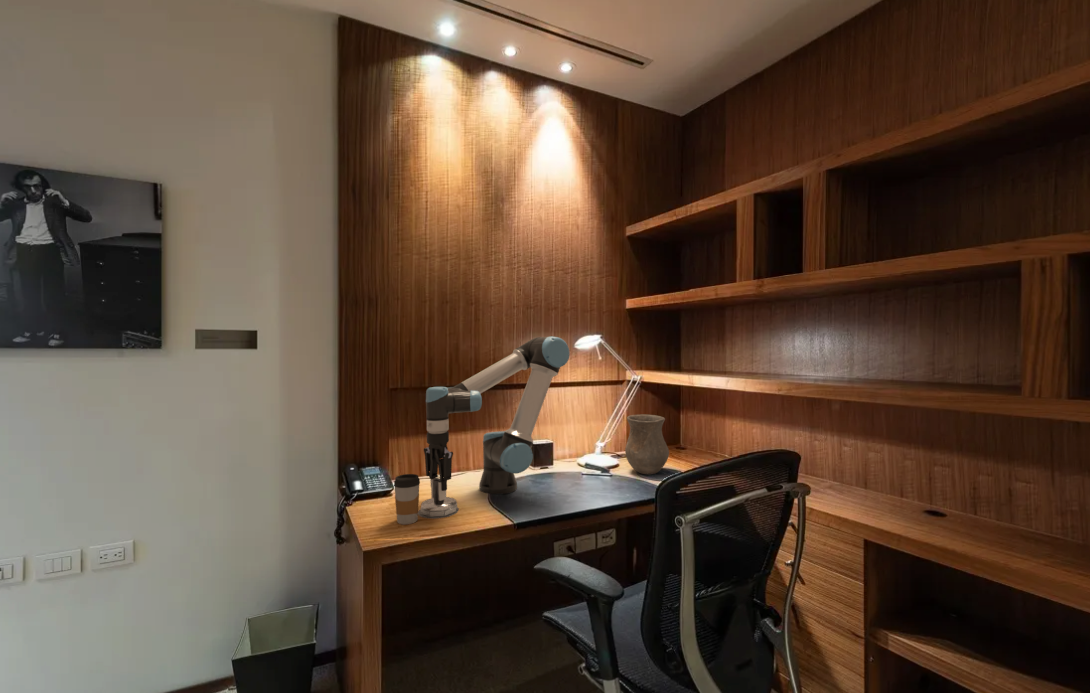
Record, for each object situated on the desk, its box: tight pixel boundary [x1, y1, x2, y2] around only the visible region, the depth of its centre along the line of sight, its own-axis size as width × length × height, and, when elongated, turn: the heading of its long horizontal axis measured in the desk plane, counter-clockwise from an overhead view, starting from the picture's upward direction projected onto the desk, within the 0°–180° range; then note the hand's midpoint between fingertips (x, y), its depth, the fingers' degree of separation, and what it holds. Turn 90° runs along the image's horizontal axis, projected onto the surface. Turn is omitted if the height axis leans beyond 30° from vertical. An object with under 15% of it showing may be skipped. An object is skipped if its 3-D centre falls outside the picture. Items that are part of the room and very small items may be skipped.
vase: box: [624, 414, 670, 475], centre depth 208 cm, size 20×19×25 cm
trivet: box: [418, 506, 460, 520], centre depth 161 cm, size 14×14×1 cm
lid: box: [419, 478, 458, 517], centre depth 161 cm, size 12×12×10 cm
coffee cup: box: [393, 473, 421, 525], centre depth 153 cm, size 8×8×15 cm
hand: (438, 498), depth 162 cm, fingers closed on lid, 3 cm apart
